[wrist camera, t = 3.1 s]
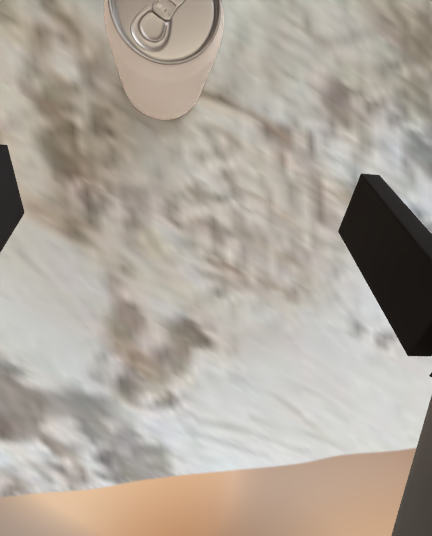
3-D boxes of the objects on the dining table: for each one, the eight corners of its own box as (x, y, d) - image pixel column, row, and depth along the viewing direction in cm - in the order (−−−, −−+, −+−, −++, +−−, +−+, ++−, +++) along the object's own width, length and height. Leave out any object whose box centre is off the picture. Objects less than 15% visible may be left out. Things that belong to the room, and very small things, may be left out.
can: (106, 89, 29) (72, 18, 18) (148, 17, 29) (142, -106, 17) (175, 137, 31) (187, 100, 19) (216, 69, 30) (254, -12, 19)
